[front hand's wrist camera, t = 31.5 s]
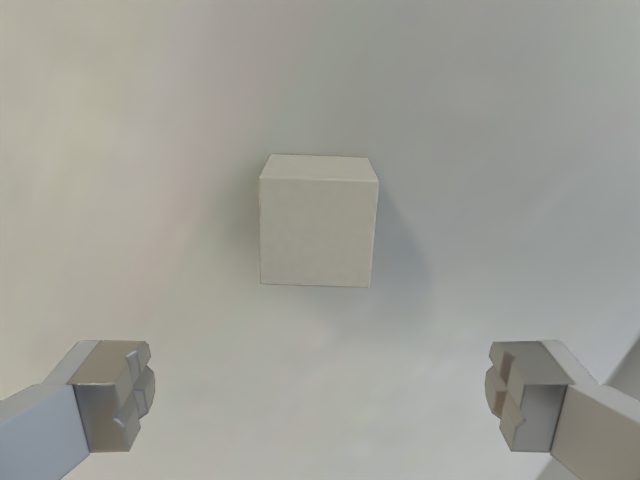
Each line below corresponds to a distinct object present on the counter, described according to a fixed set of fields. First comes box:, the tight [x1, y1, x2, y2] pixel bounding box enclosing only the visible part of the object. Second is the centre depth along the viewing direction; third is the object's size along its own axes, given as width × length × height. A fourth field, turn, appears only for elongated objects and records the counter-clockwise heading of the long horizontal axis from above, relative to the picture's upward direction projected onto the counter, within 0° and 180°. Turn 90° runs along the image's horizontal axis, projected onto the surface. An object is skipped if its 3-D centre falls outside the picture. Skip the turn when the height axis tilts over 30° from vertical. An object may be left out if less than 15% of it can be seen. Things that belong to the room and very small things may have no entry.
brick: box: [259, 154, 379, 288], centre depth 20 cm, size 5×5×4 cm
